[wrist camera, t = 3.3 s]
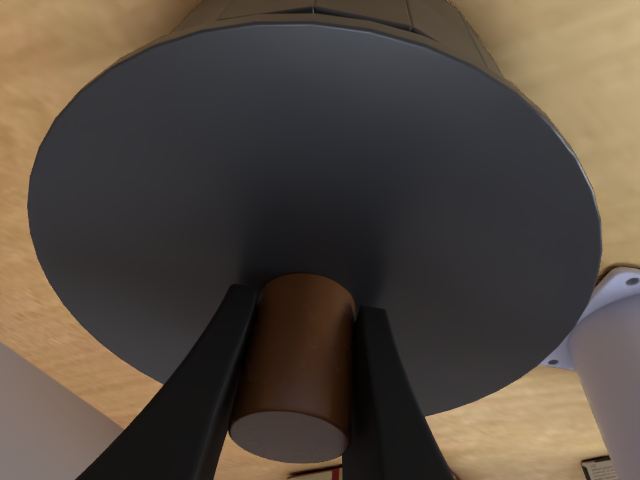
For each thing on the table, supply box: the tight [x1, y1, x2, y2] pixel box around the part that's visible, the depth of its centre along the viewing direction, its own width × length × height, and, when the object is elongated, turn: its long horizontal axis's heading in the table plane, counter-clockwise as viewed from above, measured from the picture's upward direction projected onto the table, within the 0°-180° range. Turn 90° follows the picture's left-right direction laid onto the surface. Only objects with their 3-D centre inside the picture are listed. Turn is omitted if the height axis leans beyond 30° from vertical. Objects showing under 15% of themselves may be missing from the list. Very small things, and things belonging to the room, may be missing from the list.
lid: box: [27, 13, 602, 463], centre depth 11 cm, size 14×14×5 cm
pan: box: [170, 0, 504, 78], centre depth 16 cm, size 13×13×6 cm
